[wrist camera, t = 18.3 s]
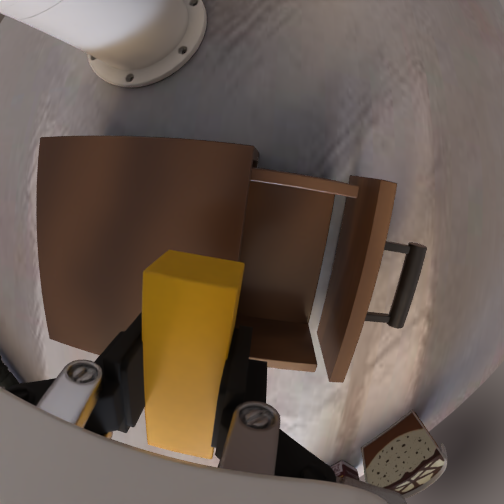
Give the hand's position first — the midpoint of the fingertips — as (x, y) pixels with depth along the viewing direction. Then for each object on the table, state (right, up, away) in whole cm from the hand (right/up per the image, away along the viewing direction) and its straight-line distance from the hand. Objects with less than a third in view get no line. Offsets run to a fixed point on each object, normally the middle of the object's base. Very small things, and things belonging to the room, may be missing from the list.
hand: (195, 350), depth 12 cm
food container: (+23, -23, +23) cm, 40 cm away
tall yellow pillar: (0, 0, 0) cm, 0 cm away
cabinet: (-6, +6, +17) cm, 19 cm away
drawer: (+6, +4, +16) cm, 17 cm away
